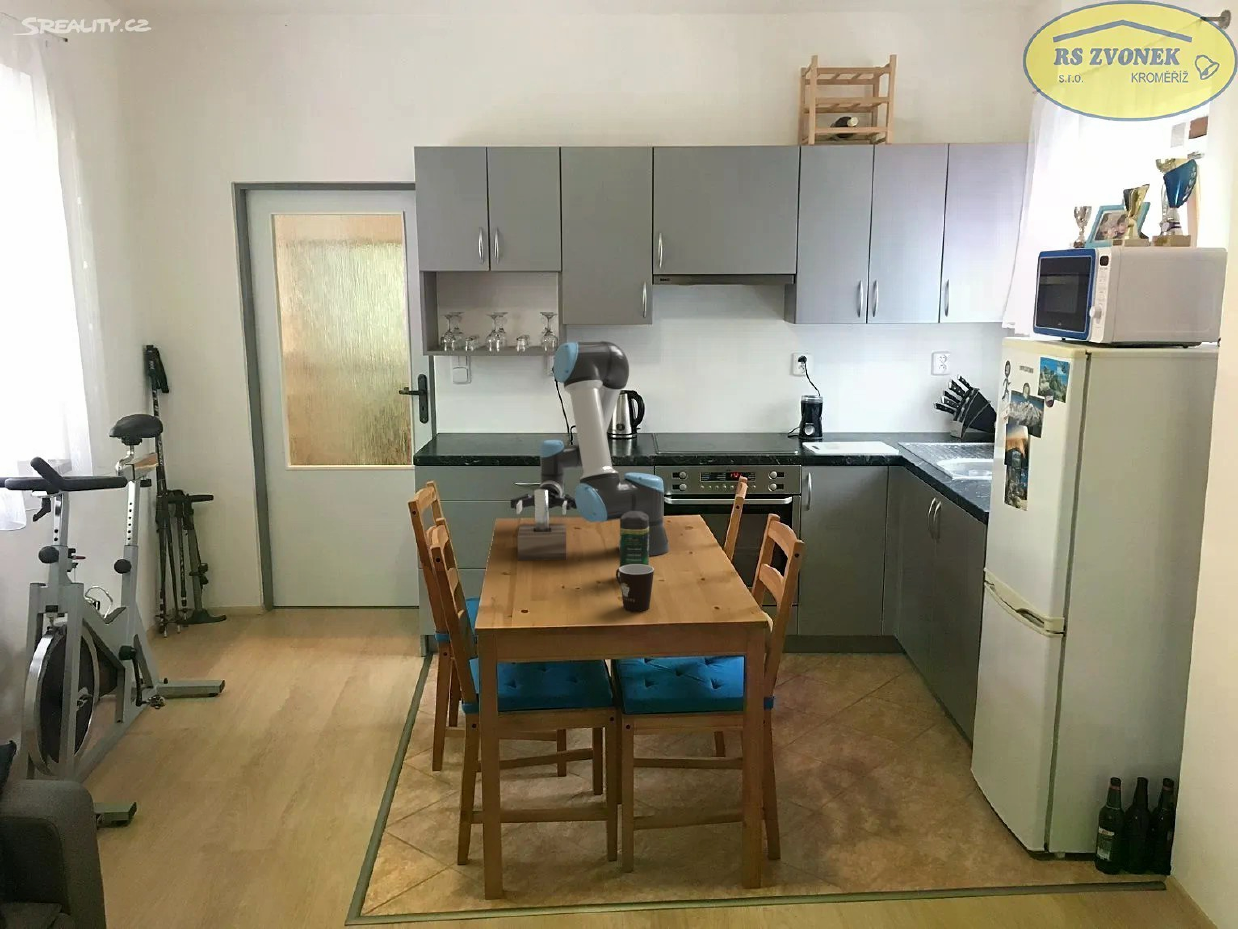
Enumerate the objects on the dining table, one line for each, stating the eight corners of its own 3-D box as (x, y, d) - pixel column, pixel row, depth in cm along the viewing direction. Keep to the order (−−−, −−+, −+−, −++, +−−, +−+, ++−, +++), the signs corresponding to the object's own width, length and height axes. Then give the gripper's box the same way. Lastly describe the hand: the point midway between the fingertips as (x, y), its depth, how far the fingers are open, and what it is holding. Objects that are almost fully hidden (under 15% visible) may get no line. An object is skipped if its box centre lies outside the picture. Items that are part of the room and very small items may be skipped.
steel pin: (551, 546, 289) (550, 490, 286) (540, 548, 286) (539, 492, 283) (544, 543, 292) (543, 488, 289) (533, 545, 290) (531, 490, 286)
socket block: (566, 559, 282) (566, 536, 281) (518, 560, 281) (517, 537, 280) (565, 545, 298) (565, 523, 297) (520, 546, 297) (519, 523, 296)
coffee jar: (647, 585, 258) (648, 517, 254) (618, 584, 258) (618, 516, 255) (650, 574, 267) (650, 508, 264) (621, 573, 268) (621, 508, 265)
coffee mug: (657, 612, 236) (657, 573, 234) (623, 615, 234) (623, 575, 232) (646, 598, 247) (646, 560, 245) (613, 600, 245) (613, 562, 243)
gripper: (588, 506, 306) (583, 522, 285) (509, 506, 307) (498, 521, 286) (588, 483, 305) (582, 497, 284) (509, 482, 306) (498, 497, 285)
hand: (540, 509), depth 285 cm, fingers open, 13 cm apart
